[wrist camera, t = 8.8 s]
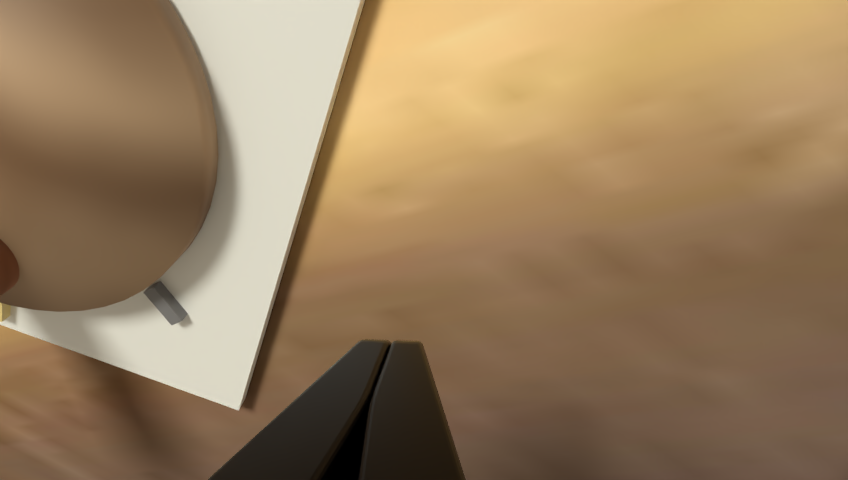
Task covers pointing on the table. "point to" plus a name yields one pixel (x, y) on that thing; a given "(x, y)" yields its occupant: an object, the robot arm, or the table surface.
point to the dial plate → (228, 200)
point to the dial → (98, 150)
